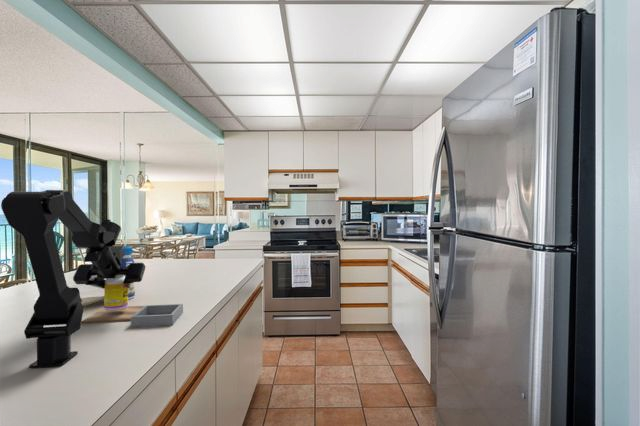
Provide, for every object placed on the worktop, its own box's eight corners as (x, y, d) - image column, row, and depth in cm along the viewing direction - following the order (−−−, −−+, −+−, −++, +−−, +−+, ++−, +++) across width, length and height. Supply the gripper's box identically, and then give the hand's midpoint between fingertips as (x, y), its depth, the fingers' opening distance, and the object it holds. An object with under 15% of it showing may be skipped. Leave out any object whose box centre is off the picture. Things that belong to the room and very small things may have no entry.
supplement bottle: (124, 311, 104) (126, 271, 104) (100, 312, 101) (102, 271, 102) (130, 305, 110) (131, 267, 110) (107, 306, 108) (108, 268, 108)
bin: (172, 324, 97) (172, 314, 97) (130, 327, 95) (130, 316, 95) (182, 312, 108) (182, 303, 108) (145, 314, 106) (145, 305, 106)
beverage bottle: (107, 298, 126) (107, 246, 126) (132, 294, 132) (132, 245, 131) (112, 302, 120) (111, 248, 120) (137, 298, 125) (137, 247, 125)
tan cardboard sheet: (131, 320, 100) (131, 318, 100) (81, 323, 98) (81, 321, 98) (147, 307, 114) (147, 305, 114) (104, 309, 112) (104, 307, 112)
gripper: (143, 237, 104) (154, 266, 114) (78, 238, 100) (95, 268, 111) (134, 266, 96) (146, 294, 107) (63, 268, 92) (83, 297, 103)
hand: (118, 287), depth 107 cm, fingers closed on supplement bottle, 6 cm apart
